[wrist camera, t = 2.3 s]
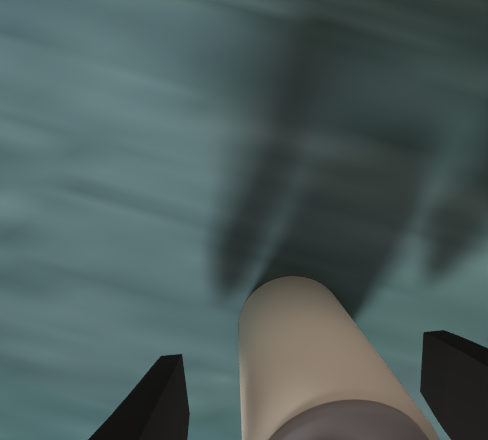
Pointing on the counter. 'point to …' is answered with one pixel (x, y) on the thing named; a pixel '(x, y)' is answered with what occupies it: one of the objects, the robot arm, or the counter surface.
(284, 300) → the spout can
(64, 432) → the counter surface
